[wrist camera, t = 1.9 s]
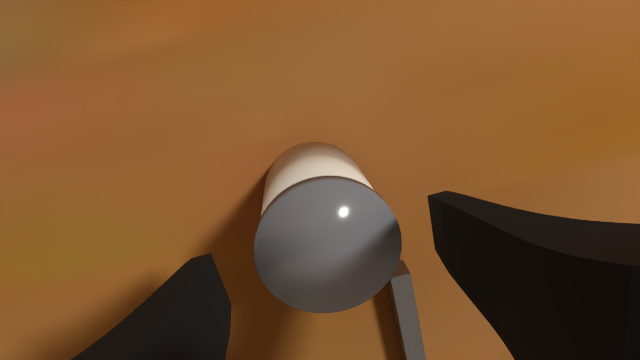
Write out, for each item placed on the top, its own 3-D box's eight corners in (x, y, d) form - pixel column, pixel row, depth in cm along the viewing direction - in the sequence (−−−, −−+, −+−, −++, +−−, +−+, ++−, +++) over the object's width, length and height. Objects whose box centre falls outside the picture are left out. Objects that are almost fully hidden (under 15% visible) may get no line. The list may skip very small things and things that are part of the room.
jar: (353, 128, 16) (388, 164, 11) (372, 221, 18) (411, 292, 12) (249, 155, 16) (233, 204, 11) (278, 246, 18) (277, 328, 12)
